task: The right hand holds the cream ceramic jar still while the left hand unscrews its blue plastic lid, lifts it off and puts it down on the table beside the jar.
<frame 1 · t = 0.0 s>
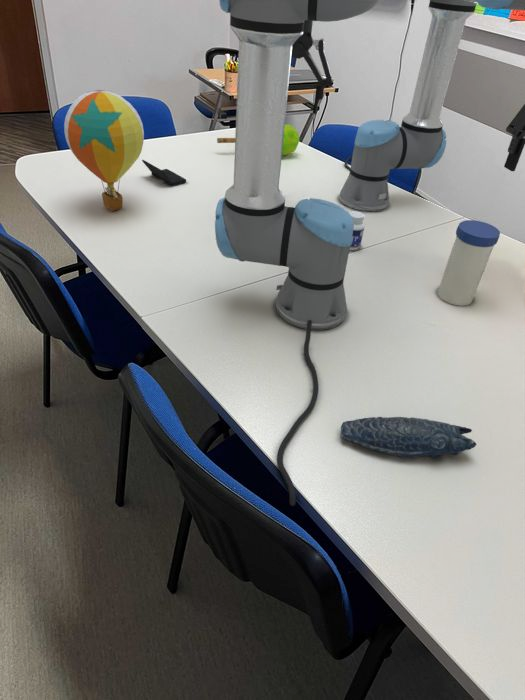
left hand: (288, 109, 135), 28 cm above the table, tool pointing down, fingers open, 13 cm apart
decorative tree: (258, 154, 190), on the table
fish model: (402, 444, 84), on the table
toy: (113, 208, 145), on the table
jar: (454, 296, 122), on the table
lid: (478, 230, 112), point 17 cm above the table, screwed on, not yet turned
black angled piece: (164, 180, 164), on the table
pill bottle: (350, 246, 138), on the table
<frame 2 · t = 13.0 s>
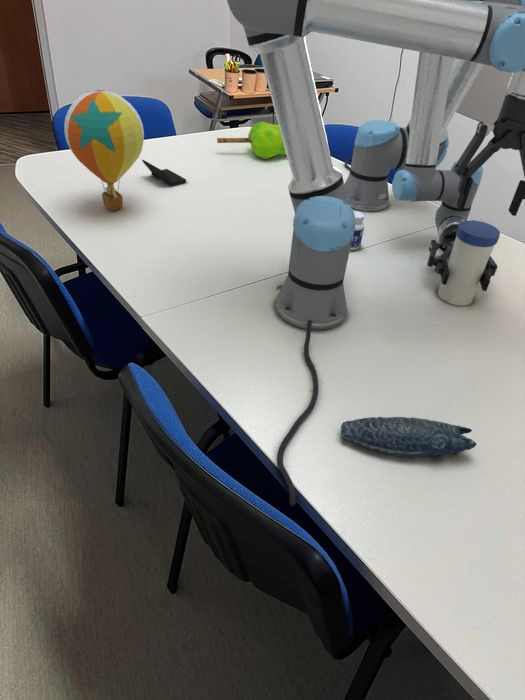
left hand: (485, 210, 109), 21 cm above the table, tool pointing down, fingers open, 10 cm apart
right hand: (466, 282, 114), 7 cm above the table, tool horizontal, fingers closed on jar, 8 cm apart
jar: (454, 296, 122), on the table, touching right hand
everything else where it was.
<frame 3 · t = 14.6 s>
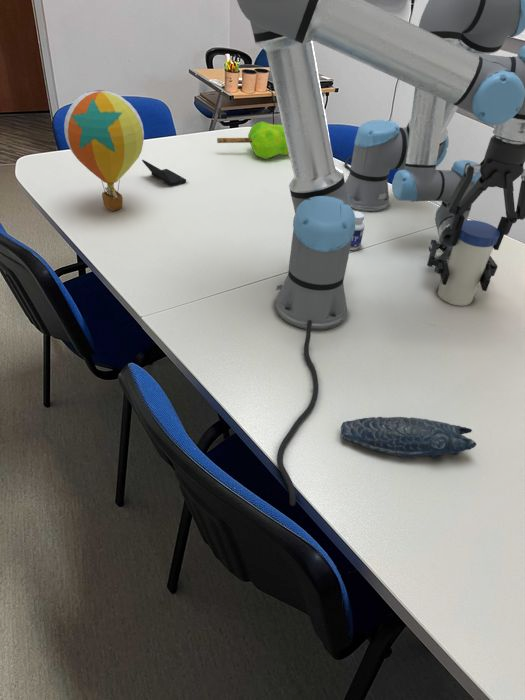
left hand: (473, 245, 114), 13 cm above the table, tool pointing down, fingers closed on lid, 9 cm apart
right hand: (466, 282, 114), 6 cm above the table, tool horizontal, fingers closed on jar, 8 cm apart
jar: (454, 296, 122), on the table, touching right hand
lid: (478, 230, 112), point 17 cm above the table, screwed on, not yet turned, touching left hand
everything else where it was.
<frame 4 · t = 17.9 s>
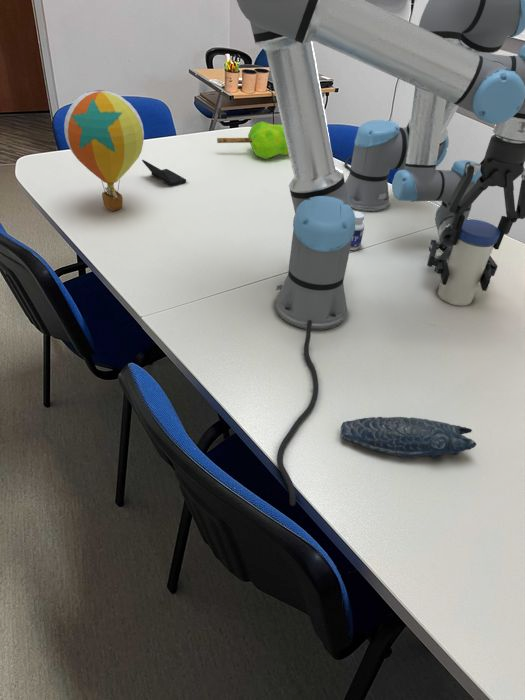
left hand: (473, 244, 114), 13 cm above the table, tool pointing down, fingers closed on lid, 9 cm apart
right hand: (466, 282, 114), 6 cm above the table, tool horizontal, fingers closed on jar, 8 cm apart
jar: (454, 296, 122), on the table, touching right hand
lid: (478, 229, 111), point 17 cm above the table, turned 112° so far, risen 0.2 cm, still on its thread, touching left hand
everything else where it was.
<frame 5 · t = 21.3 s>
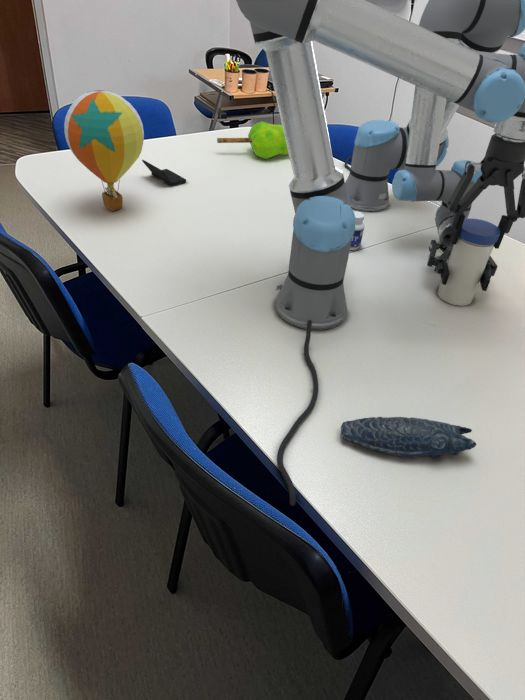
left hand: (473, 243, 114), 14 cm above the table, tool pointing down, fingers closed on lid, 9 cm apart
right hand: (466, 282, 114), 6 cm above the table, tool horizontal, fingers closed on jar, 8 cm apart
jar: (454, 296, 122), on the table, touching right hand
lid: (479, 228, 111), point 17 cm above the table, turned 225° so far, risen 0.4 cm, still on its thread, touching left hand
everything else where it was.
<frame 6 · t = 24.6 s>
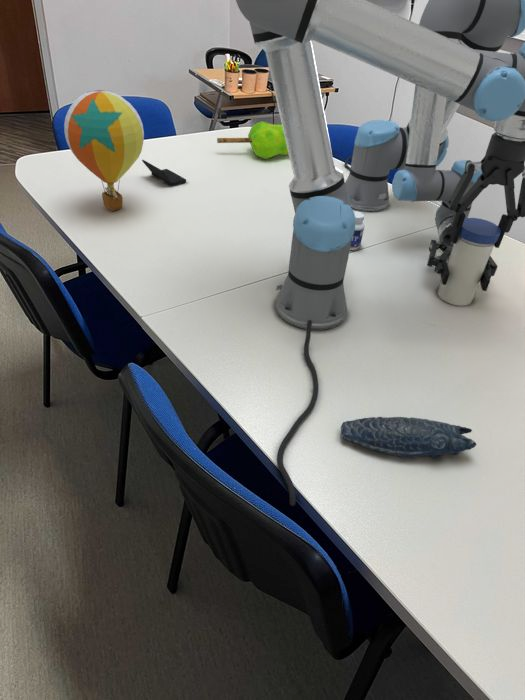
left hand: (474, 242, 113), 14 cm above the table, tool pointing down, fingers closed on lid, 9 cm apart
right hand: (466, 282, 114), 6 cm above the table, tool horizontal, fingers closed on jar, 8 cm apart
jar: (454, 296, 122), on the table, touching right hand
lid: (479, 227, 111), point 17 cm above the table, turned 337° so far, risen 0.6 cm, still on its thread, touching left hand
everything else where it was.
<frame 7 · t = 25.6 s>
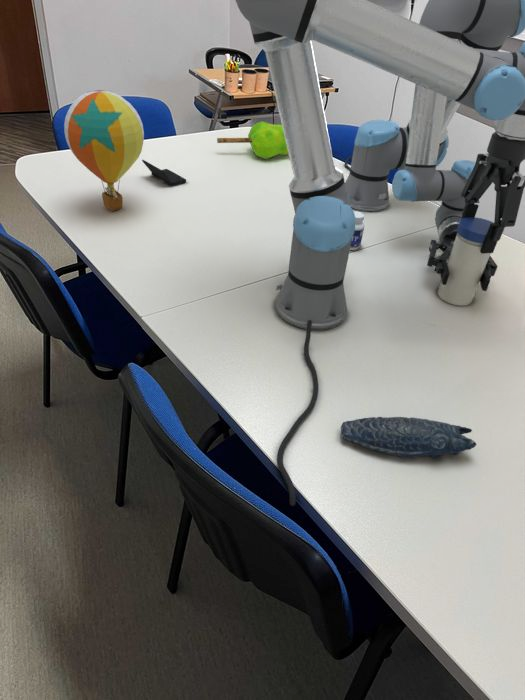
left hand: (474, 242, 113), 14 cm above the table, tool pointing down, fingers closed on lid, 9 cm apart
right hand: (466, 282, 114), 6 cm above the table, tool horizontal, fingers closed on jar, 8 cm apart
jar: (454, 296, 122), on the table, touching right hand
lid: (479, 227, 111), point 18 cm above the table, off its thread, touching left hand
everything else where it was.
when the left hand's fingers open (0 cm above the table, at t = 32.4 s): lid drops 2 cm, point 2 cm above the table.
when the right hand's fingers open (6 cm above the table, at t = 33.5 s): jar stays where it is, on the table.
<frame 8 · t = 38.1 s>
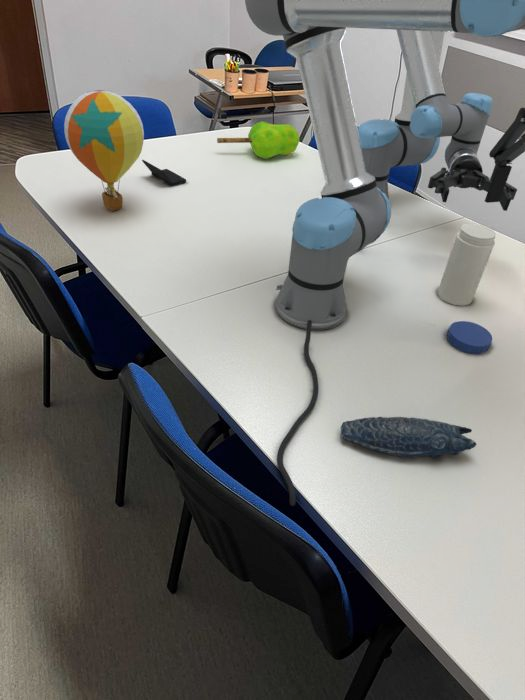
left hand: (516, 217, 91), 28 cm above the table, tool pointing down, fingers open, 13 cm apart
right hand: (476, 200, 118), 20 cm above the table, tool horizontal, fingers open, 13 cm apart
jar: (454, 296, 122), on the table
lid: (470, 334, 107), point 2 cm above the table, off its thread
everything else where it was.
at the end: lid came off its thread; lid point 1.7 cm above the table; the left hand is holding nothing; the right hand is holding nothing; jar tilted 0°; jar moved 0.0 cm from its start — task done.
